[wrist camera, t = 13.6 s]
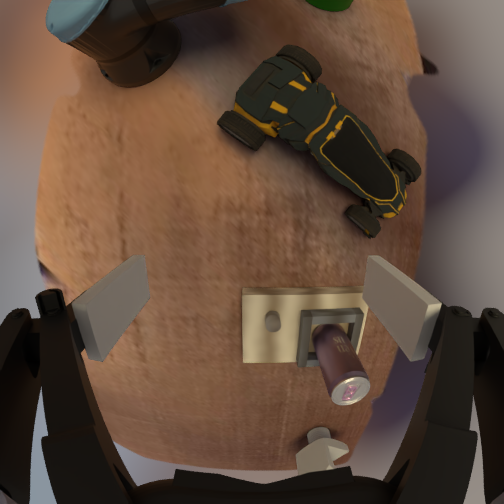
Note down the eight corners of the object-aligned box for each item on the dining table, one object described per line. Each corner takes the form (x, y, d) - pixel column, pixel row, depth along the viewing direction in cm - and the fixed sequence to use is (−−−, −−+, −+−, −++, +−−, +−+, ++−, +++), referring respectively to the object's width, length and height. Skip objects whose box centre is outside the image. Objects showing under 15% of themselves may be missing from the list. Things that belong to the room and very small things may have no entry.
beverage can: (306, 346, 46) (323, 406, 32) (317, 318, 45) (340, 375, 30) (336, 349, 47) (360, 406, 32) (347, 322, 45) (378, 376, 31)
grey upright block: (317, 444, 60) (328, 501, 41) (293, 436, 58) (301, 498, 39) (342, 427, 58) (359, 486, 39) (318, 419, 56) (333, 483, 37)
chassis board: (243, 353, 50) (242, 373, 45) (242, 287, 46) (241, 303, 41) (352, 348, 50) (361, 366, 44) (364, 285, 46) (377, 299, 41)
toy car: (278, 54, 36) (284, 26, 26) (416, 172, 41) (449, 175, 31) (216, 125, 39) (205, 111, 30) (364, 243, 45) (390, 260, 35)
